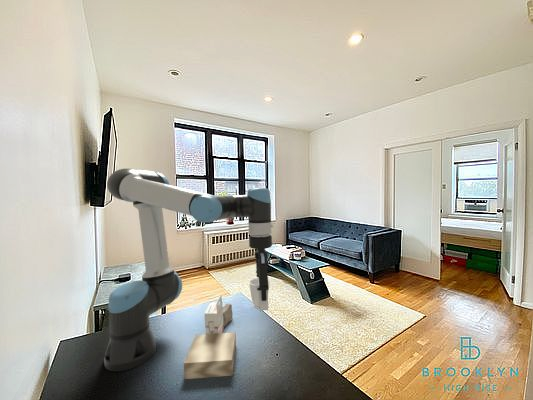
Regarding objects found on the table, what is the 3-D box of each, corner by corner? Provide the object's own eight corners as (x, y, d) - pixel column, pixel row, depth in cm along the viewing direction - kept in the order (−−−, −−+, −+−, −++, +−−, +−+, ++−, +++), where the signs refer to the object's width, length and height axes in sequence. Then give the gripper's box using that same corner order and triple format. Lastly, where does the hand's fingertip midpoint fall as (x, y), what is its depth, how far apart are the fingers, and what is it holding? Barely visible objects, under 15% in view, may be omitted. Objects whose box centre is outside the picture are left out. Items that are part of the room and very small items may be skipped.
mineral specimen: (220, 315, 104) (220, 301, 104) (234, 317, 101) (234, 303, 101) (203, 330, 92) (203, 314, 92) (219, 333, 89) (218, 317, 89)
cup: (245, 309, 72) (244, 284, 72) (256, 296, 82) (255, 274, 82) (267, 312, 70) (266, 286, 70) (275, 298, 80) (274, 275, 80)
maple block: (184, 380, 67) (183, 363, 67) (196, 349, 81) (195, 334, 81) (232, 376, 68) (232, 359, 68) (236, 346, 82) (235, 332, 82)
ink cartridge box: (211, 330, 91) (209, 294, 90) (224, 330, 91) (222, 293, 90) (205, 345, 82) (203, 305, 82) (219, 345, 82) (217, 304, 82)
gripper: (276, 240, 66) (279, 318, 66) (267, 230, 87) (269, 288, 88) (250, 241, 65) (252, 321, 65) (247, 230, 87) (249, 290, 87)
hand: (262, 302), depth 76 cm, fingers closed on cup, 9 cm apart
